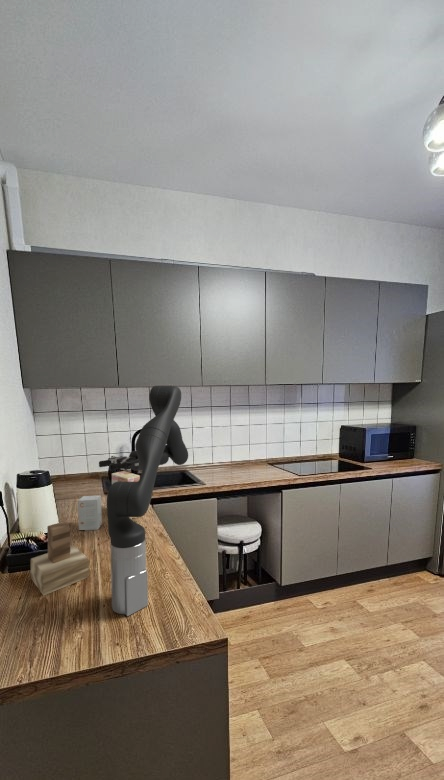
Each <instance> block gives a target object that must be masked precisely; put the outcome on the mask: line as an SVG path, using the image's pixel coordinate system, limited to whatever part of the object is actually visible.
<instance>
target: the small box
mask: <svg viewBox="0 0 444 780" xmlns="http://www.w3.org/2000/svg"><path fill="white" fill-rule="evenodd" d="M77 507H78V509H77V511H78V531H79V530H85V531H96V530H97V531H98V530H99V529H100V527H101V526H102V522H103V521H102V519H103V518H102V517H103V516H102V514H103V513H102V495H83V496H81V498H80V499H78V500H77ZM100 525H101V526H100Z"/></svg>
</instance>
